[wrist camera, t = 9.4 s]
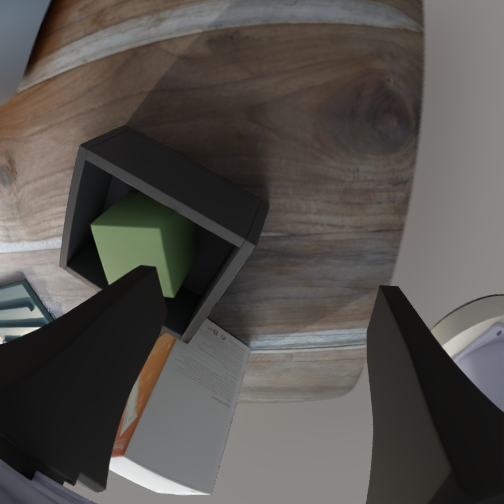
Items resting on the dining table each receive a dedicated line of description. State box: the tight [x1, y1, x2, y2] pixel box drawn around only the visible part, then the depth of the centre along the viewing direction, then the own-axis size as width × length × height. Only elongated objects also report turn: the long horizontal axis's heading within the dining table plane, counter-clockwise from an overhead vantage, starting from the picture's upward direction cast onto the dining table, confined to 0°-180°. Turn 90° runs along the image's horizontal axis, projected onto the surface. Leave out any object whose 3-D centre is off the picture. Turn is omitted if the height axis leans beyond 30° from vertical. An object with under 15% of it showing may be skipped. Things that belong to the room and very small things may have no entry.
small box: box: [109, 318, 251, 495], centre depth 21 cm, size 8×6×13 cm
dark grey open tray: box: [60, 125, 269, 344], centre depth 18 cm, size 10×9×4 cm
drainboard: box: [0, 280, 54, 343], centre depth 33 cm, size 20×12×1 cm, turn 109°
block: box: [91, 192, 198, 298], centre depth 18 cm, size 4×4×4 cm
